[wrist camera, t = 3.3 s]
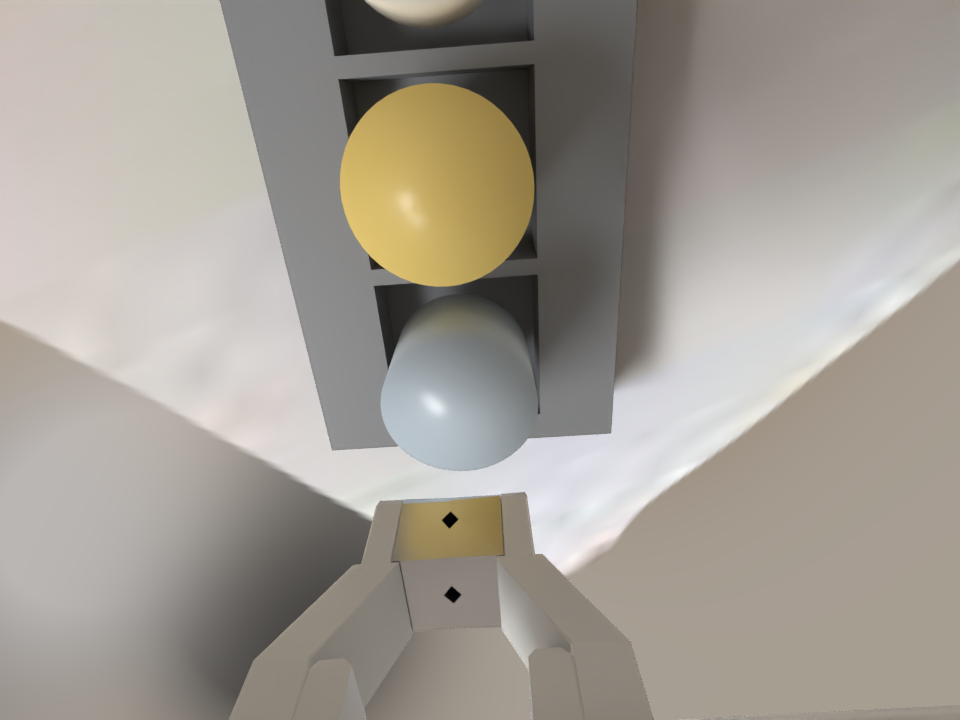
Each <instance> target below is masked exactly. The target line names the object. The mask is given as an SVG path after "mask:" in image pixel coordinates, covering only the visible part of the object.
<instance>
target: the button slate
mask: <svg viewBox="0 0 960 720" xmlns="http://www.w3.org/2000/svg"><path fill="white" fill-rule="evenodd" d="M380 405H381V414H382V418H383V421H384V424H385V426H386V429H387V431H388V432H389V434H390V436H391V437H392V439H393V440H394V441H395V442H396V444H397V445H398V446H399V447H400V448H401V449H402V450H403V451H405V452H406V453H407V454H409V455H410V456H411V457H413V458H415V459H416V460H418V461H420V462H422V463H424V464H427V465H429V466H432V467H436V468H439V469H444V470H452V471H469V470H477V469H481V468H485V467H488V466H491V465H494V464H496V463H498V462H501V461H503V460H504V459H506V458H507V457H509V456H511V455H512V454H513V453H514V452H516V451H517V450H518V449H519V448H520V447H521V446H522V445H523V444H524V442H525V441H526V440H527V438H528V437H529V435H530V434H531V432H532V430H533V428H534V425H535V422H536V419H537V414H538V395H537V390H536V385H535V381H534V376H533V372H532V367H531V362H530V358H529V353H528V349H527V344H526V340H525V336H524V334H523V331H522V329H521V327H520V325H519V324H518V322H517V321H516V320H515V318H514V317H513V316H512V315H511V314H510V313H509V312H508V311H507V310H506V309H505V308H503V307H502V306H501V305H499V304H497V303H495V302H494V301H492V300H489V299H487V298H484V297H481V296H477V295H471V294H452V295H446V296H442V297H439V298H436V299H434V300H431V301H430V302H428V303H426V304H424V305H423V306H421V307H420V308H419V309H417V310H416V311H415V312H414V313H413V314H412V315H411V316H410V318H409V319H408V320H407V322H406V323H405V325H404V327H403V329H402V331H401V334H400V337H399V340H398V343H397V346H396V349H395V352H394V355H393V358H392V361H391V364H390V366H389V369H388V372H387V375H386V378H385V381H384V384H383V388H382V393H381V403H380Z"/></svg>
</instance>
